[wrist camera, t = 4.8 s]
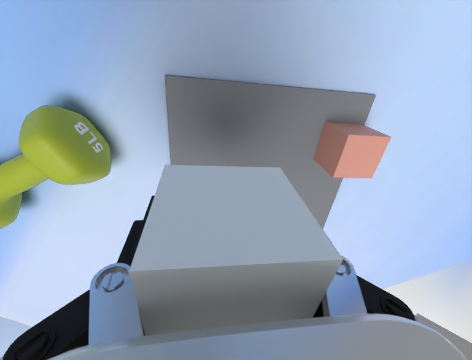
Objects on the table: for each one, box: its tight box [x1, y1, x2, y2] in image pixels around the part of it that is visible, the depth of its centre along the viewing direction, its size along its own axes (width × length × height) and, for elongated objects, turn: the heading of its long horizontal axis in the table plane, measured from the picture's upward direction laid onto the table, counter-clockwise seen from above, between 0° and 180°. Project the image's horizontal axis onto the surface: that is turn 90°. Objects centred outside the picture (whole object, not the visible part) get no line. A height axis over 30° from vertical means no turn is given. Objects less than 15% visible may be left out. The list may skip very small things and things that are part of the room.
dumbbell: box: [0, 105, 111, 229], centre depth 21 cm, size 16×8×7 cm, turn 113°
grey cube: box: [129, 165, 343, 336], centre depth 10 cm, size 6×6×6 cm
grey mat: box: [165, 75, 376, 229], centre depth 28 cm, size 22×24×1 cm
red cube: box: [313, 122, 391, 178], centre depth 25 cm, size 5×5×5 cm
